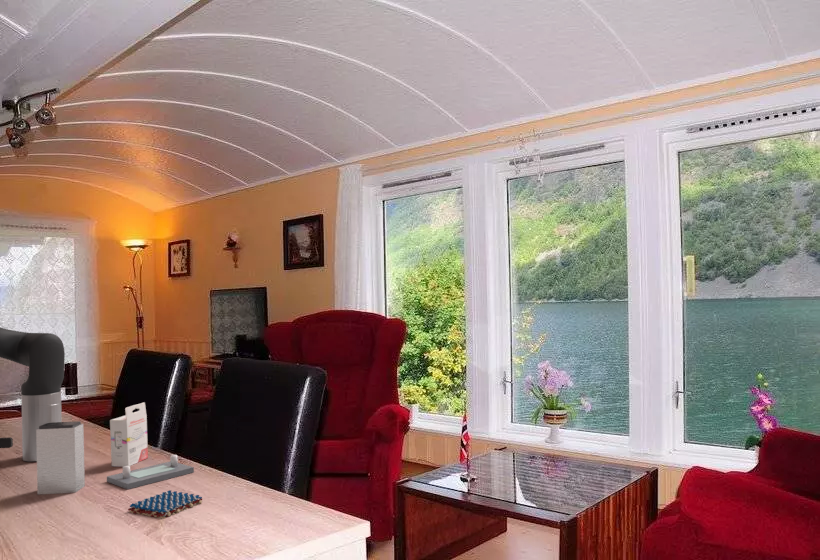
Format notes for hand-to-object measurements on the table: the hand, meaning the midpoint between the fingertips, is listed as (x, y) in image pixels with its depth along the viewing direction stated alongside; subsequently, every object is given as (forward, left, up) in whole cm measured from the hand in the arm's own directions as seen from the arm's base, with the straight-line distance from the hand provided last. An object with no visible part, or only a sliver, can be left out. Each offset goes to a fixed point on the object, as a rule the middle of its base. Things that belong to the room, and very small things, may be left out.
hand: (1, 446), depth 140 cm
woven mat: (+16, +39, -11) cm, 44 cm away
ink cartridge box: (-22, +19, -10) cm, 31 cm away
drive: (0, +12, -10) cm, 16 cm away
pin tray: (-7, +29, -10) cm, 32 cm away
